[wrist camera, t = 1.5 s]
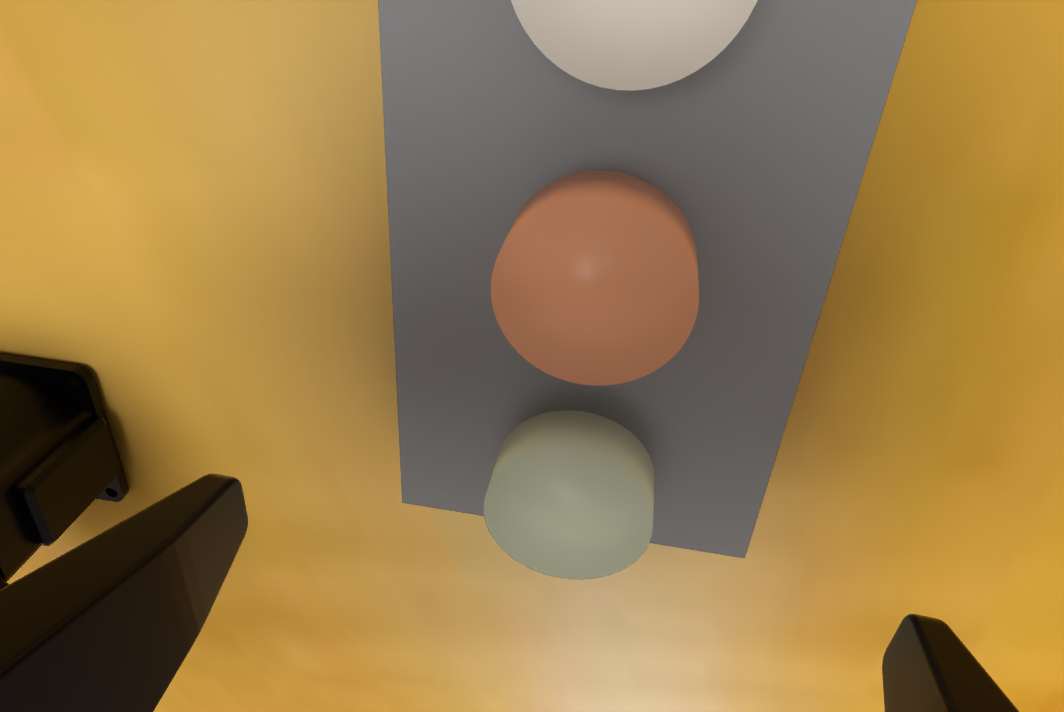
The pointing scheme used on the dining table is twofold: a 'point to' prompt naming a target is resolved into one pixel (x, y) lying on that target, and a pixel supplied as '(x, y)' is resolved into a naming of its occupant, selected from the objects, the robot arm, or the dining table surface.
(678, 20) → the button offwhite
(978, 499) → the dining table surface
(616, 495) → the button sage
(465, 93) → the button panel
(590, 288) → the button terracotta
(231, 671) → the dining table surface
